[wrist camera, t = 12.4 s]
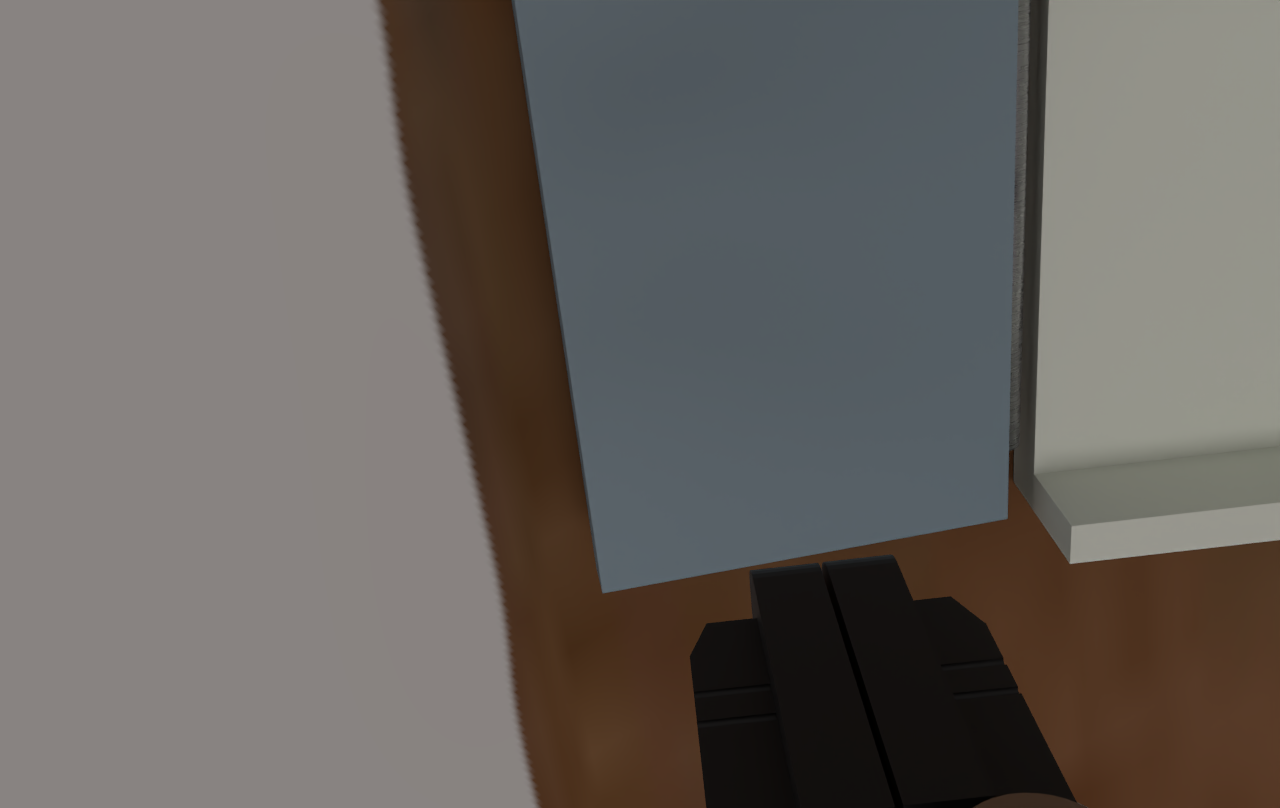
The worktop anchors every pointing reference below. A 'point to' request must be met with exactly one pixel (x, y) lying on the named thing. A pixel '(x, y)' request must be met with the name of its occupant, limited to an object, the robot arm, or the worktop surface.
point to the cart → (1152, 276)
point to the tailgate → (782, 268)
